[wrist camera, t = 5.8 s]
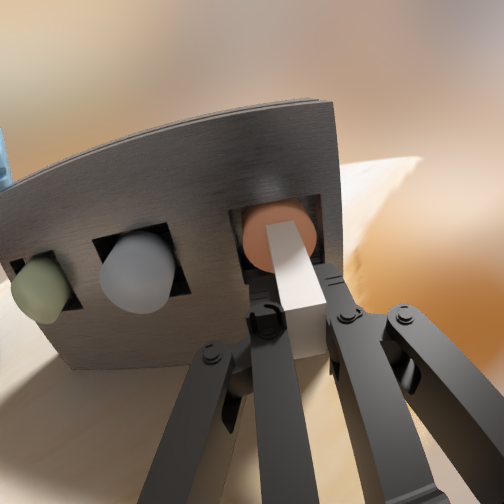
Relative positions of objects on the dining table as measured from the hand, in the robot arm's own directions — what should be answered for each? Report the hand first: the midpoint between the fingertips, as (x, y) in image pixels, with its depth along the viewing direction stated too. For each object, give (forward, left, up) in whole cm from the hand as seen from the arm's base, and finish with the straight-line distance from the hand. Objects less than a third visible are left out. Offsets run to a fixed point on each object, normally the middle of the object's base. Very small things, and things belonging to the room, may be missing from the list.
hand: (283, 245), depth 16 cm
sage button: (-16, +3, -2) cm, 16 cm away
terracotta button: (0, +1, -2) cm, 2 cm away
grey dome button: (-8, +1, -2) cm, 8 cm away
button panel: (-8, +4, -9) cm, 12 cm away
